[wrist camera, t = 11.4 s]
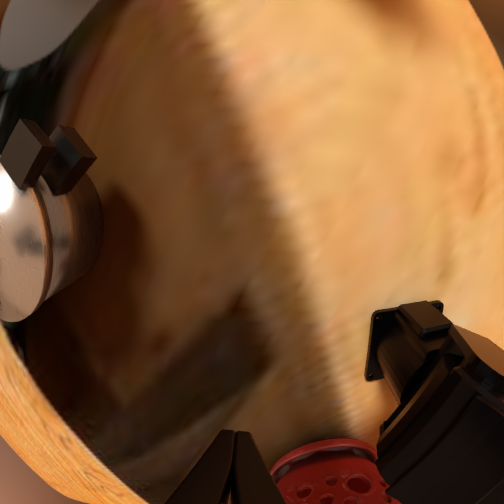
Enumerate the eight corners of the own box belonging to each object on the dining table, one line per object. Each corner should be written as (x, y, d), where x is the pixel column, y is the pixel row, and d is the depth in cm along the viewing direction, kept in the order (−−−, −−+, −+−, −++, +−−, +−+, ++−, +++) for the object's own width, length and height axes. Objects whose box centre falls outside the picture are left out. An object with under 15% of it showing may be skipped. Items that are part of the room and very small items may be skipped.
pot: (77, 104, 17) (27, 89, 11) (154, 197, 19) (112, 206, 13) (-23, 282, 21) (-58, 301, 15) (28, 353, 23) (-4, 382, 17)
